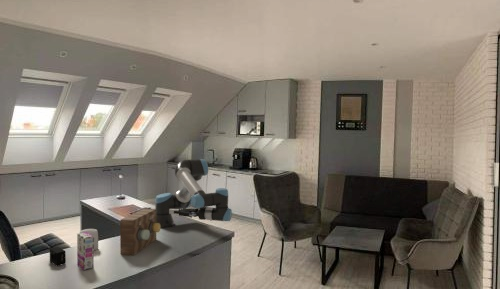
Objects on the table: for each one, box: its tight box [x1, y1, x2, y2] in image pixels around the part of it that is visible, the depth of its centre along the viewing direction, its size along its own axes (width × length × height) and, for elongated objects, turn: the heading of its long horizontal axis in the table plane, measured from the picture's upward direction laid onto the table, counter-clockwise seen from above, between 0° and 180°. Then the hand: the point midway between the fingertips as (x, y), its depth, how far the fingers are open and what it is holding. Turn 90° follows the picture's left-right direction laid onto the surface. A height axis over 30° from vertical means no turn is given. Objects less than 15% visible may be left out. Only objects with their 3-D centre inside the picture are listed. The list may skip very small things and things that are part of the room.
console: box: [119, 208, 157, 256], centre depth 193 cm, size 28×10×20 cm, turn 170°
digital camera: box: [49, 246, 67, 267], centre depth 169 cm, size 10×5×7 cm, turn 50°
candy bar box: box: [76, 232, 95, 271], centre depth 164 cm, size 11×5×16 cm, turn 45°
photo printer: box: [79, 228, 99, 251], centre depth 187 cm, size 10×4×12 cm, turn 104°
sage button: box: [140, 230, 150, 240], centre depth 185 cm, size 6×3×6 cm, turn 170°
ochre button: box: [152, 223, 161, 233], centre depth 199 cm, size 6×3×6 cm, turn 170°
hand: (169, 211), depth 197 cm, fingers closed
